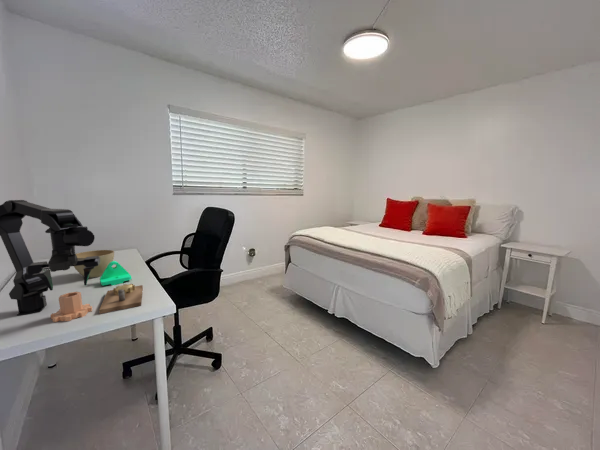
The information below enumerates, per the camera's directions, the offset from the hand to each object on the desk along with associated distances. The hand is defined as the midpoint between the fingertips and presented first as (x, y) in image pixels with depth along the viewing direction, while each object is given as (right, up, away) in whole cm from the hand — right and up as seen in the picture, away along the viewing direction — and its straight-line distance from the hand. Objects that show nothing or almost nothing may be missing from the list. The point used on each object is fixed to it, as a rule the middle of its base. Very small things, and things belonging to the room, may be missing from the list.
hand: (69, 287), depth 90 cm
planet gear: (0, -10, +1) cm, 10 cm away
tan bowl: (-27, -5, +44) cm, 52 cm away
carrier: (+10, -8, +14) cm, 19 cm away
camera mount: (-8, -6, +34) cm, 35 cm away
